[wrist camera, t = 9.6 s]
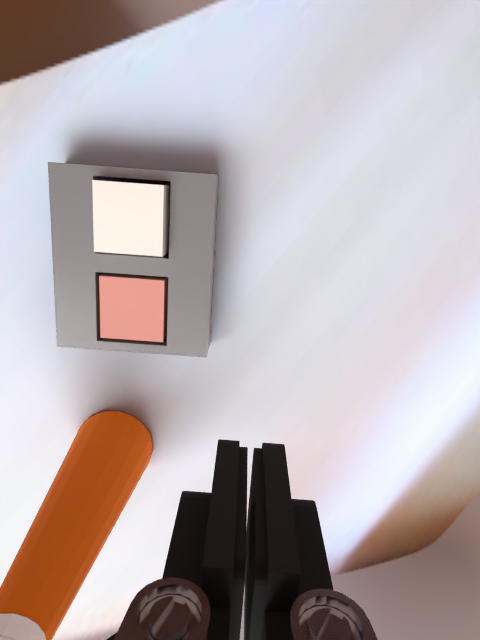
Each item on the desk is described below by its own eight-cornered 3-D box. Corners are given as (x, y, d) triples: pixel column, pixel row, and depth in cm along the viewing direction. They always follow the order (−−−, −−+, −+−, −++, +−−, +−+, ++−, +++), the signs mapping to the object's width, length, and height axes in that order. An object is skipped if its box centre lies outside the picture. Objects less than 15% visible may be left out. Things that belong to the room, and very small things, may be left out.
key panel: (218, 175, 35) (215, 174, 32) (209, 344, 39) (206, 357, 36) (64, 163, 35) (48, 162, 32) (71, 334, 39) (57, 346, 36)
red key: (169, 274, 37) (164, 280, 34) (168, 332, 38) (163, 342, 36) (108, 270, 37) (99, 275, 34) (109, 328, 38) (100, 337, 36)
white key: (169, 185, 34) (163, 185, 31) (168, 252, 35) (162, 256, 33) (103, 180, 34) (92, 180, 31) (104, 247, 35) (94, 251, 33)
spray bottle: (29, 426, 42) (-310, 794, 16) (140, 401, 41) (-39, 753, 15) (56, 489, 44) (-210, 907, 18) (163, 467, 43) (36, 876, 17)
